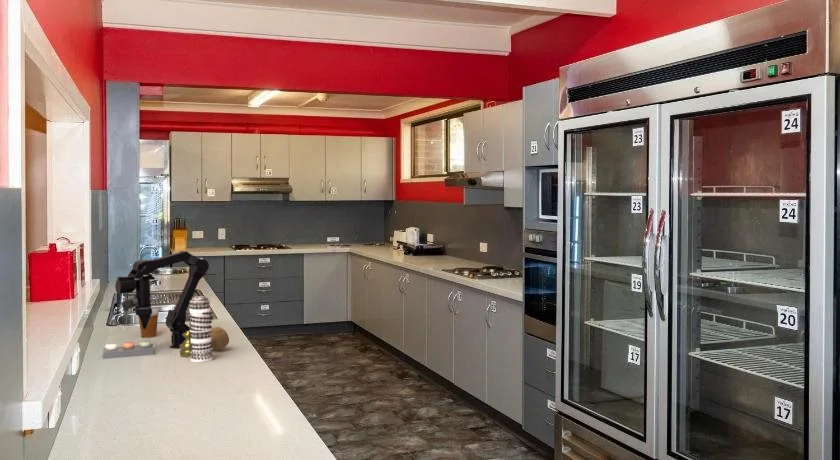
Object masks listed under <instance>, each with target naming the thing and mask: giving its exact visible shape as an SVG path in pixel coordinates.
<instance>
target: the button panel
mask: <svg viewBox="0 0 840 460" xmlns="http://www.w3.org/2000/svg"><path fill="white" fill-rule="evenodd" d="M154 354H155V353H154V344H153V343H151V346H150V347H146V348H141V347H140V344H138V345H134V348H132V349H123V346H117V349H116V350H111V351H107V350H106V347H104V348H103V352H102V356H103V357H102V358H103V359H104V360H106V359H116V358H127V357H140V356H149V355H151V356H152V355H154Z"/></svg>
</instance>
